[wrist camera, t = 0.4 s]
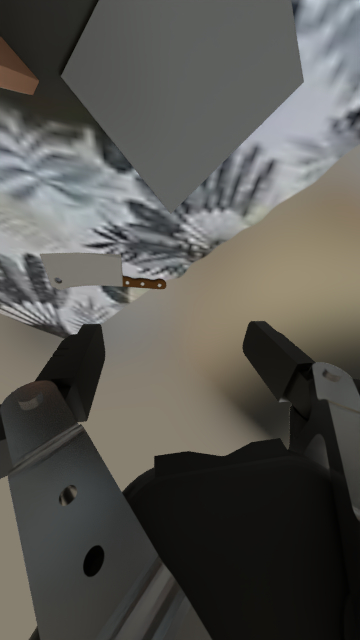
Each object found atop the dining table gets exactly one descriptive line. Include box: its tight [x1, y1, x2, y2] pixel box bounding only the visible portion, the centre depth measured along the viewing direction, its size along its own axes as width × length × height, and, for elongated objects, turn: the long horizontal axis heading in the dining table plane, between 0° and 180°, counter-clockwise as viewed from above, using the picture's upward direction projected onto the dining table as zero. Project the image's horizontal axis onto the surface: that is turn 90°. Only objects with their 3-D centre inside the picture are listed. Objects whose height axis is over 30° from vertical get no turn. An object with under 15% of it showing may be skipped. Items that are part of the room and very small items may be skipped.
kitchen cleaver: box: [40, 253, 166, 290], centre depth 38 cm, size 24×1×10 cm
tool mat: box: [61, 0, 304, 213], centre depth 22 cm, size 18×22×1 cm
